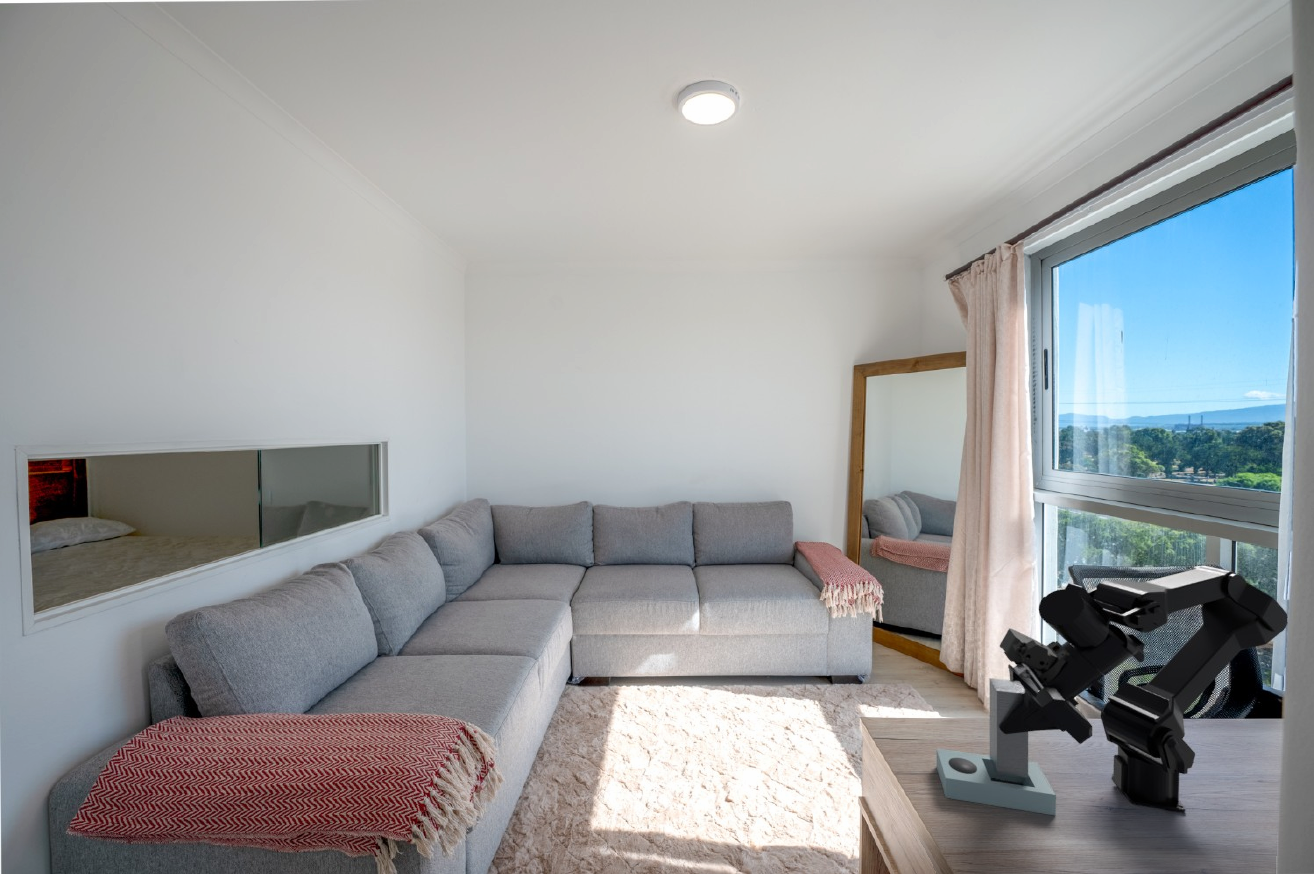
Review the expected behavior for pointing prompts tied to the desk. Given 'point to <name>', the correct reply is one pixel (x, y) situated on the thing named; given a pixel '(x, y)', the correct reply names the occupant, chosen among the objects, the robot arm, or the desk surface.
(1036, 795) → the socket block
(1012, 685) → the square bit
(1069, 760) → the desk surface
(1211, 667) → the robot arm
